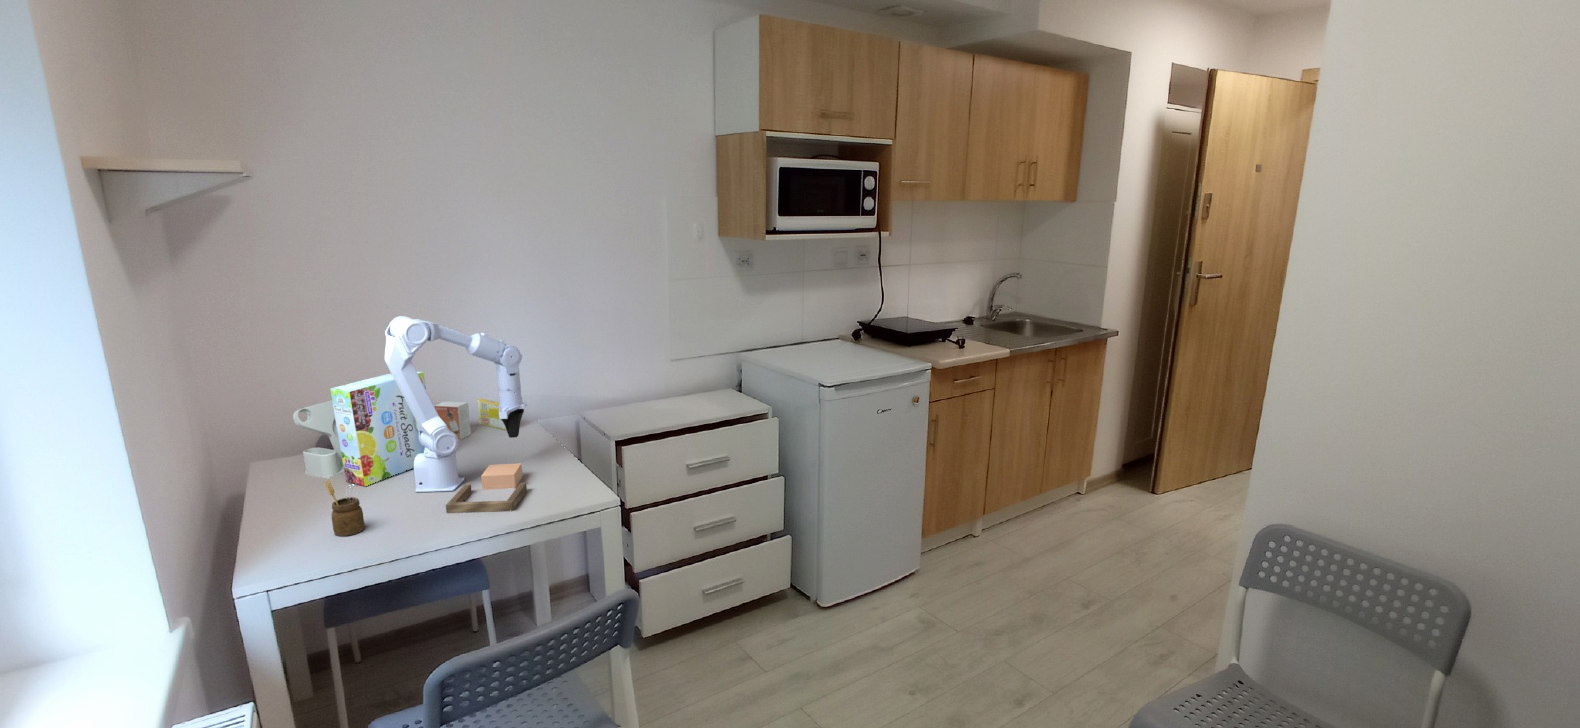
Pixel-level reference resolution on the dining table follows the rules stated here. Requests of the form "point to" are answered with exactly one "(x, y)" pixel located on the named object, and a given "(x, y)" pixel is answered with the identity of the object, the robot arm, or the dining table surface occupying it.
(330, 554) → the dining table surface
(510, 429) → the robot arm
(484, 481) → the carton
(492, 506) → the brown u-shaped wooden frame
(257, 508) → the dining table surface
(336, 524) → the utensil holder
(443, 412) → the small box
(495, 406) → the candy box
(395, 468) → the snack box
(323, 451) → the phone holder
